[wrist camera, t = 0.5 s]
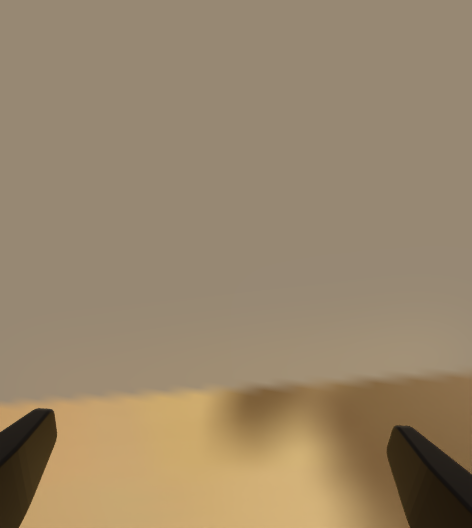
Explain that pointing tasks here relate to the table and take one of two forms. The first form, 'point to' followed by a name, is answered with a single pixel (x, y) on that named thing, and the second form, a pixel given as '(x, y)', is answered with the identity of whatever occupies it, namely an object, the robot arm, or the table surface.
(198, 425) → the table surface
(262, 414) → the table surface
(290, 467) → the table surface
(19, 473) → the robot arm
